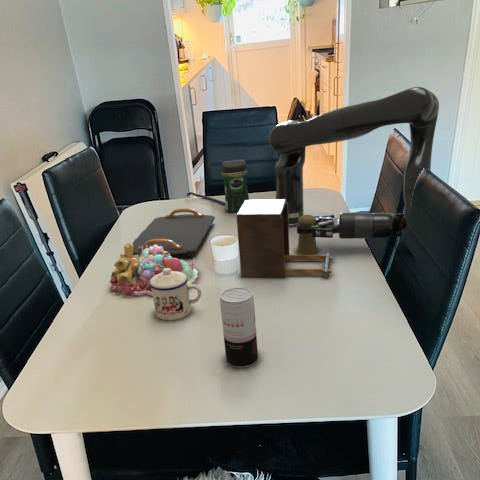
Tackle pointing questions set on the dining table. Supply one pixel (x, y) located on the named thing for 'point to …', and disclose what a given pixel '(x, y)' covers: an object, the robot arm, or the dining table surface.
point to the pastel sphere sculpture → (146, 269)
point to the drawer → (308, 258)
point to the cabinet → (263, 238)
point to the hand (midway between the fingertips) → (298, 226)
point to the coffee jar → (235, 184)
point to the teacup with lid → (172, 294)
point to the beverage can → (239, 326)
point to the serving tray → (175, 232)
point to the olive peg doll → (306, 236)
